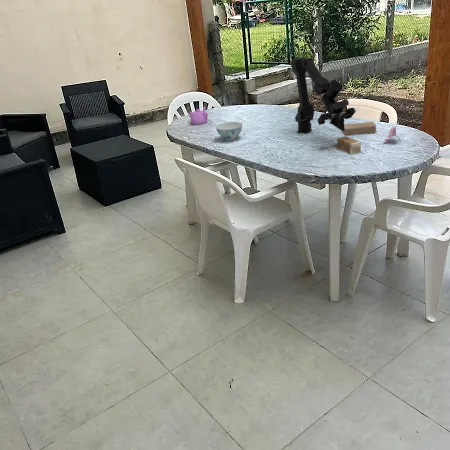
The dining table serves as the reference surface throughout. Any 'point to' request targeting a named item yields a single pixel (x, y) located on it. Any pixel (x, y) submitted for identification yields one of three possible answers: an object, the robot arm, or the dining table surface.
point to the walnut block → (349, 145)
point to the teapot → (198, 117)
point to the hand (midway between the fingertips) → (343, 130)
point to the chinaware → (229, 130)
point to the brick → (359, 128)
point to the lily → (392, 132)
